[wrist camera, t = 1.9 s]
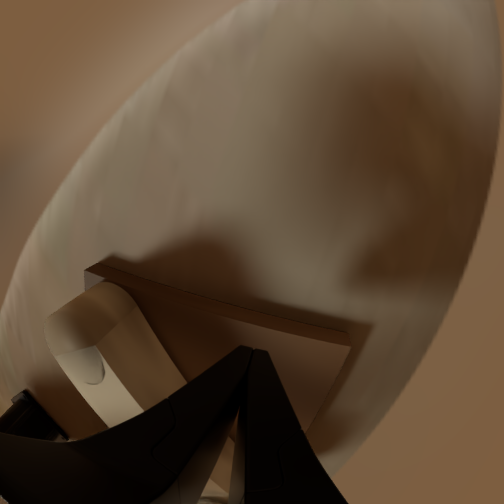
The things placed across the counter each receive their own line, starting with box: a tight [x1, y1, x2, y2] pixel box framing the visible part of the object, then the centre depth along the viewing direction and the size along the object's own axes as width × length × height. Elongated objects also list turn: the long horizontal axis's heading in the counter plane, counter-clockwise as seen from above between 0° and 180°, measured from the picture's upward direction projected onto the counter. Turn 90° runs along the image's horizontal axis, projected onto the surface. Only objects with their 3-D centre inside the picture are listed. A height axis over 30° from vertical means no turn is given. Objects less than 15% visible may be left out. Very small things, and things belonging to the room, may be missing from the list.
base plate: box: [84, 263, 351, 443], centre depth 14 cm, size 18×12×1 cm, turn 168°
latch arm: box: [44, 282, 235, 504], centre depth 11 cm, size 15×4×3 cm, turn 25°
